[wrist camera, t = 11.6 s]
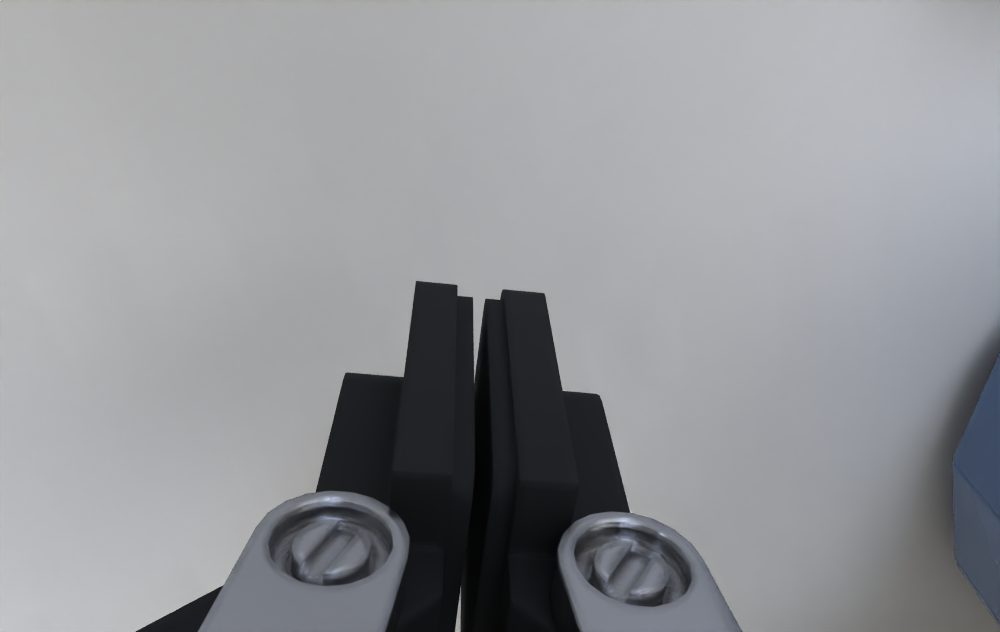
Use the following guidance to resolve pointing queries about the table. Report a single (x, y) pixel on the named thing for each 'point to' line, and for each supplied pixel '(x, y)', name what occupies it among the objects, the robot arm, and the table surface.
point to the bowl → (980, 497)
